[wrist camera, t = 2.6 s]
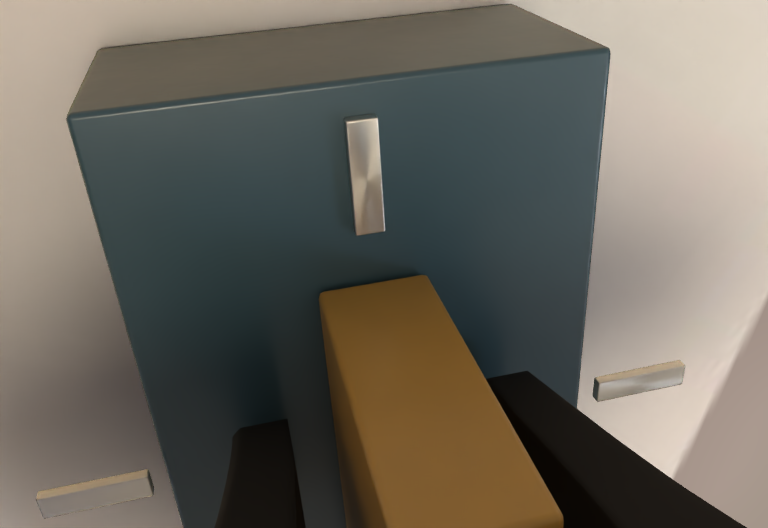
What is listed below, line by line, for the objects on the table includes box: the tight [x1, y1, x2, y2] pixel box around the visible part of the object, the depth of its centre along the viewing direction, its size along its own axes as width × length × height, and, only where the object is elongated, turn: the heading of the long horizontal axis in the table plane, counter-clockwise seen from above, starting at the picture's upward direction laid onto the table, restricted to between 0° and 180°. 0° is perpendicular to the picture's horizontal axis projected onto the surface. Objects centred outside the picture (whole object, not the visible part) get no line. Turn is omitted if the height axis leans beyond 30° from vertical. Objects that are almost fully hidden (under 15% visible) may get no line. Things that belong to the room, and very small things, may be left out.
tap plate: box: [36, 4, 685, 528], centre depth 12 cm, size 10×9×3 cm
